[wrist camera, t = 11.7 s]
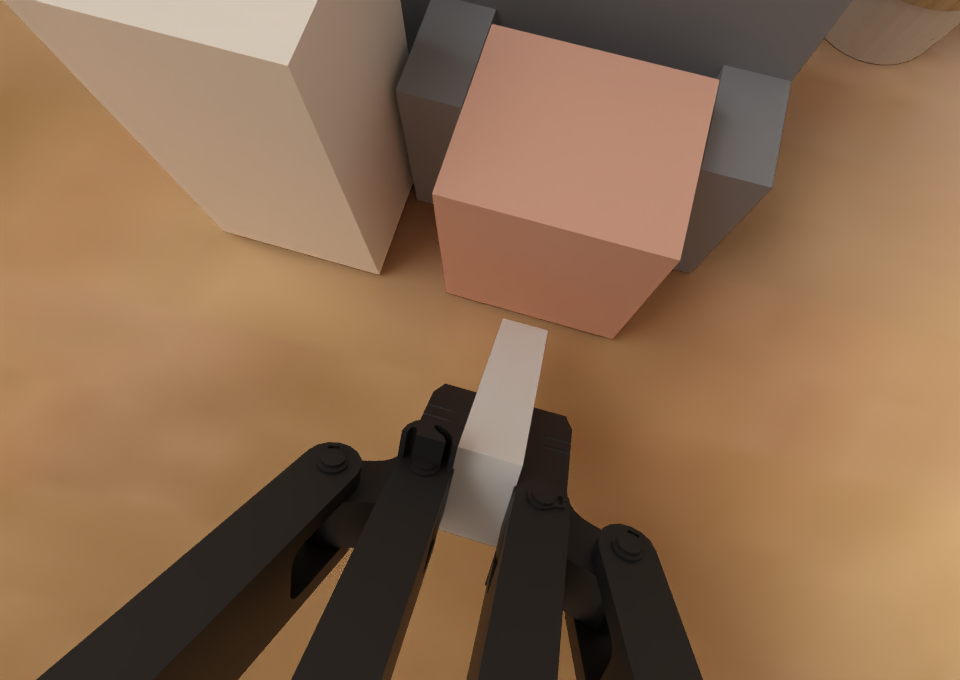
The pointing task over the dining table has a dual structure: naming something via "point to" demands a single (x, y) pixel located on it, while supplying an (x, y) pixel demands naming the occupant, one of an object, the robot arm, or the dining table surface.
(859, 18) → the coffee cup
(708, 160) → the console
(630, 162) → the terracotta key
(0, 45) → the dining table surface
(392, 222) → the cream key
